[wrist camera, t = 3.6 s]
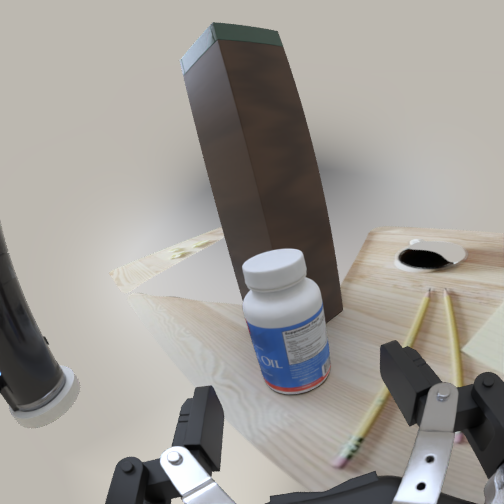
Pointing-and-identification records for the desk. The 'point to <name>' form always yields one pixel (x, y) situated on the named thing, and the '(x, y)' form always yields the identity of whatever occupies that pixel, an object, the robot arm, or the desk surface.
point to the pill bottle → (286, 321)
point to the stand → (262, 160)
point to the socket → (227, 33)
